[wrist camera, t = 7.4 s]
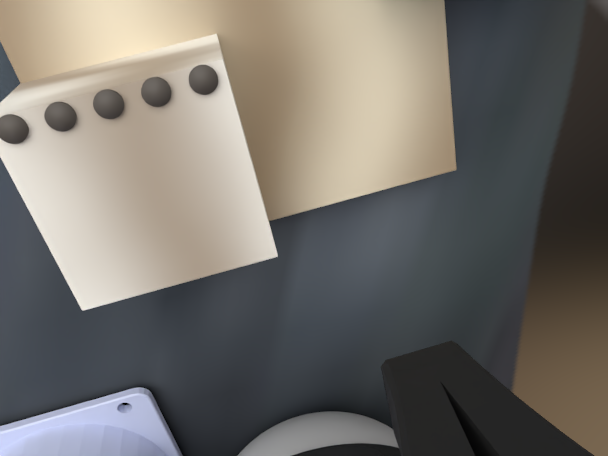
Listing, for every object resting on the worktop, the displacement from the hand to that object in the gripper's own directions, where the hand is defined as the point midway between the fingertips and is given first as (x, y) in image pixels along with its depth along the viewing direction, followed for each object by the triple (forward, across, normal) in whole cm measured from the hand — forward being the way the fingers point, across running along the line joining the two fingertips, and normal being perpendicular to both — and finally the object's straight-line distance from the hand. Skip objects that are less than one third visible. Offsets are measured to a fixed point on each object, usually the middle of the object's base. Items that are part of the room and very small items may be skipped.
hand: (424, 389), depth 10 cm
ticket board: (+9, +1, -6) cm, 11 cm away
